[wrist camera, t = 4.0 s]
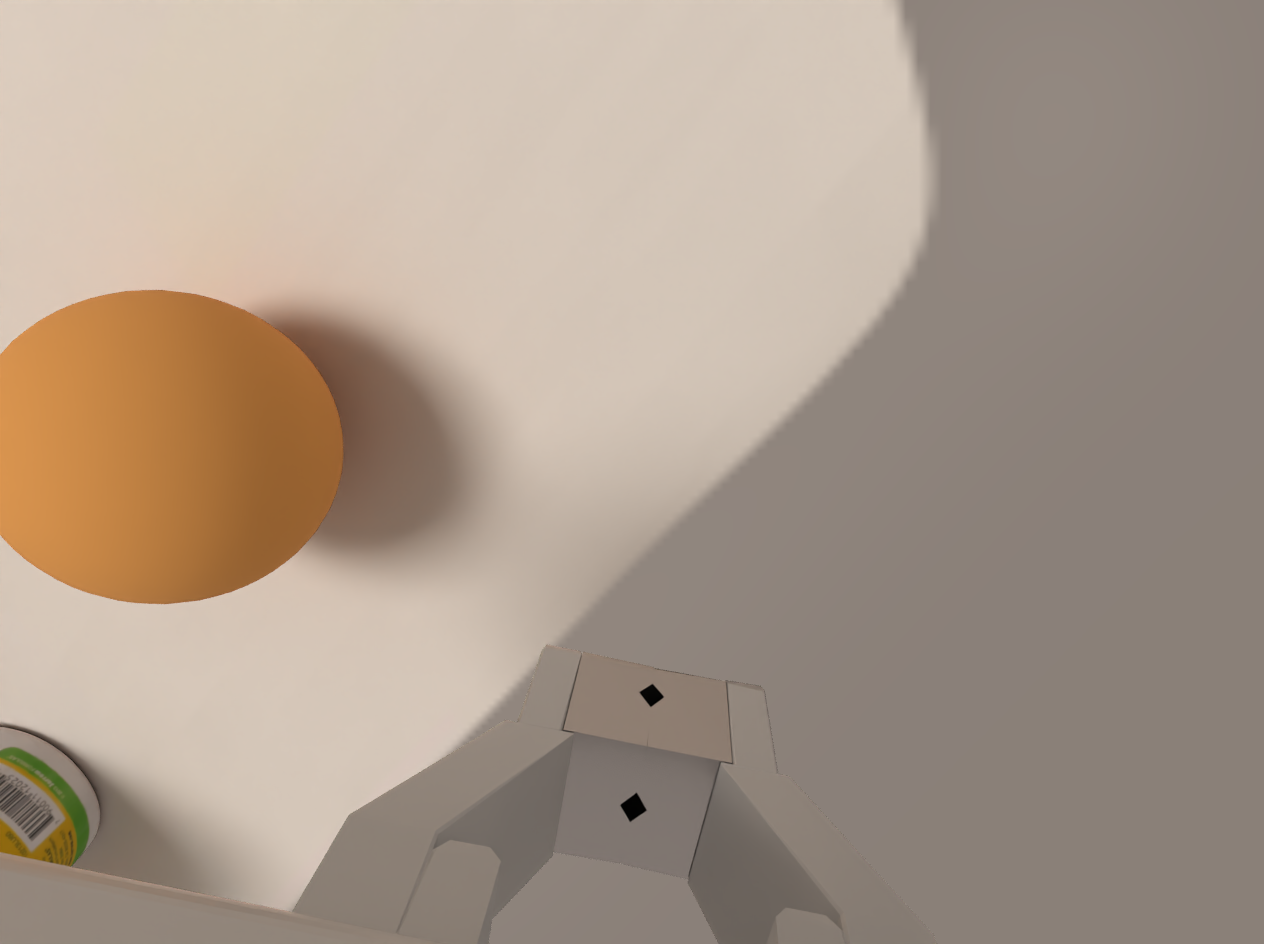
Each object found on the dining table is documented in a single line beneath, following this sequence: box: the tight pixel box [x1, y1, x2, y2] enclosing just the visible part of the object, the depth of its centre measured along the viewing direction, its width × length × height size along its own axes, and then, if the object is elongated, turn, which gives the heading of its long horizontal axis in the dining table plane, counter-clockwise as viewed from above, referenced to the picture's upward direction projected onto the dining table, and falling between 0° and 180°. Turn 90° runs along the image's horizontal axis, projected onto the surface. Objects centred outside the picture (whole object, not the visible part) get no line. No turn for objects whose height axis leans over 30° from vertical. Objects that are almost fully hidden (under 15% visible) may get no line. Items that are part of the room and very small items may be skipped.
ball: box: [0, 290, 343, 604], centre depth 14 cm, size 6×6×6 cm
